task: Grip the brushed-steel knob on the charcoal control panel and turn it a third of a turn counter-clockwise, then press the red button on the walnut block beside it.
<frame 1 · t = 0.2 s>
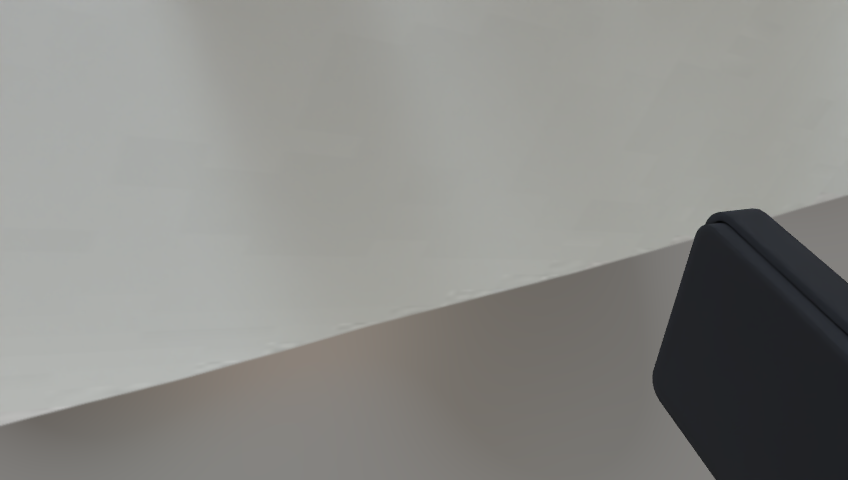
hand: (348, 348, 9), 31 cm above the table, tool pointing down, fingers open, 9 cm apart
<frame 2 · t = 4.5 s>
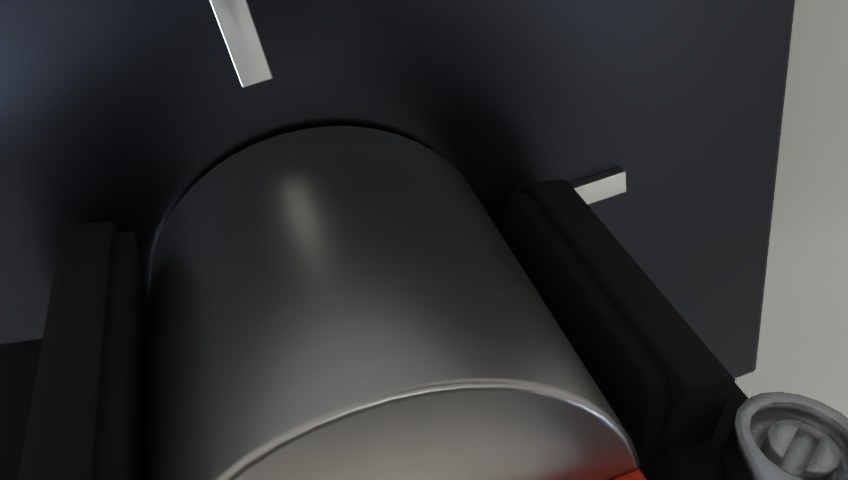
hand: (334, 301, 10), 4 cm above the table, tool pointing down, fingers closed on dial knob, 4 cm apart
control panel: (296, 169, 13), on the table
dial knob: (364, 403, 9), point 5 cm above the table, hinge at -0.1°, touching gripper
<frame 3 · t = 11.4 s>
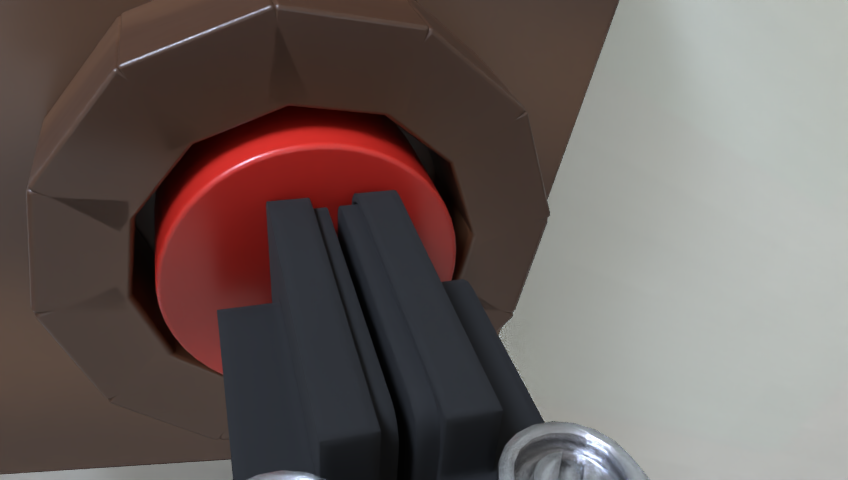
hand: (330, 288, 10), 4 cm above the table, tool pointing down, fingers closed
start button: (304, 242, 11), point 4 cm above the table, slide at -0.9 cm, touching gripper
button block: (272, 131, 14), on the table
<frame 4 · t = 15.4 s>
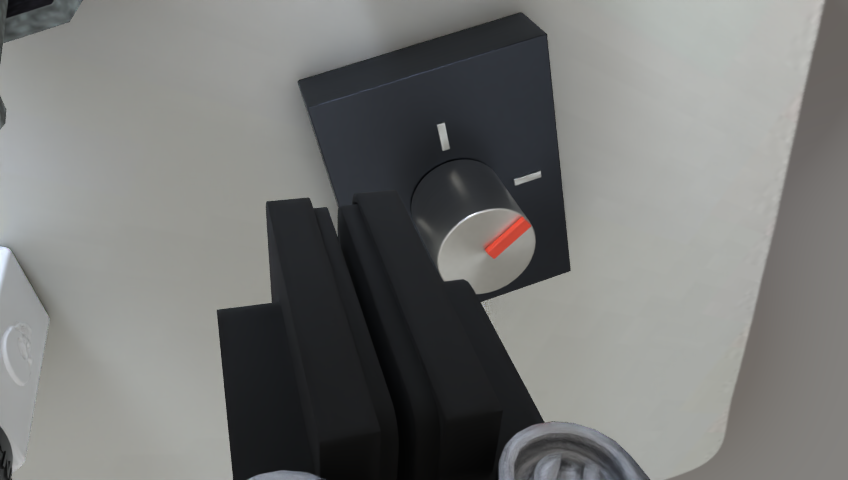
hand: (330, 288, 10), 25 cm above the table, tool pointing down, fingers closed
control panel: (438, 170, 40), on the table
dial knob: (472, 227, 36), point 5 cm above the table, hinge at 120.4°
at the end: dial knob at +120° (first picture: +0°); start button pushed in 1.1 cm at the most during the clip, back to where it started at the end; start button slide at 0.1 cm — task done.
